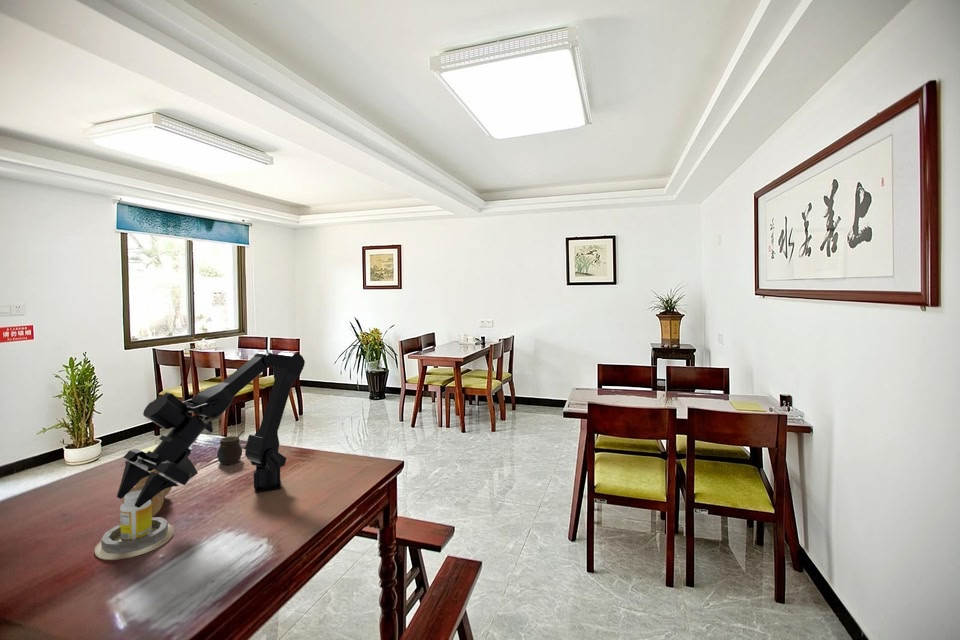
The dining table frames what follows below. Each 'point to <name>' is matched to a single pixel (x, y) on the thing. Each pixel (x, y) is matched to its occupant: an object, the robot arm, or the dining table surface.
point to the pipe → (157, 499)
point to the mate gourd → (229, 450)
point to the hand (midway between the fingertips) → (127, 502)
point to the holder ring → (133, 541)
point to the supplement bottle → (135, 518)
